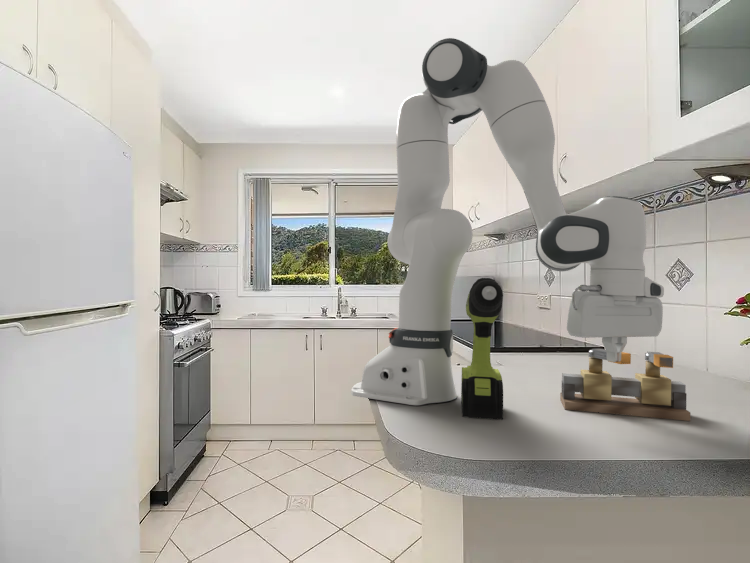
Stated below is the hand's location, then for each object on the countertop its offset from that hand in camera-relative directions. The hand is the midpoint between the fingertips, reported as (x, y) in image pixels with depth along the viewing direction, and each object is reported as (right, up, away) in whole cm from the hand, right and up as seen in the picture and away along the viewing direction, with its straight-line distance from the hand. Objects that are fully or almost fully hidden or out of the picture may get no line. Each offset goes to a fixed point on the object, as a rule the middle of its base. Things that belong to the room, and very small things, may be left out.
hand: (613, 361), depth 82 cm
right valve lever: (+9, -1, +1) cm, 9 cm away
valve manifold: (+4, -10, +6) cm, 13 cm away
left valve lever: (+1, 0, +4) cm, 4 cm away
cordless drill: (-24, -10, -1) cm, 26 cm away
